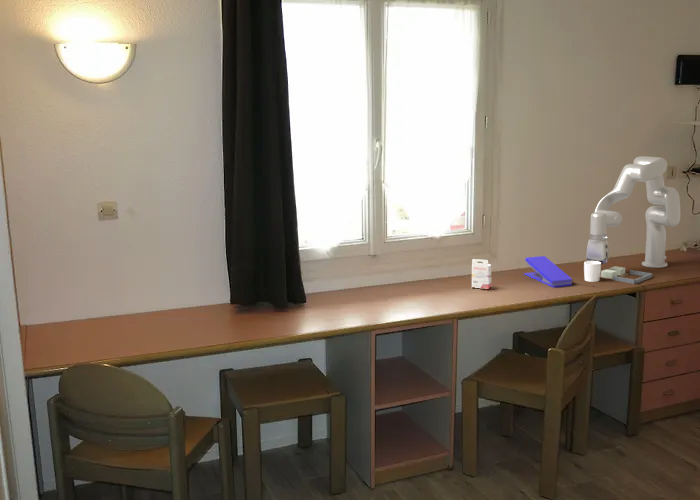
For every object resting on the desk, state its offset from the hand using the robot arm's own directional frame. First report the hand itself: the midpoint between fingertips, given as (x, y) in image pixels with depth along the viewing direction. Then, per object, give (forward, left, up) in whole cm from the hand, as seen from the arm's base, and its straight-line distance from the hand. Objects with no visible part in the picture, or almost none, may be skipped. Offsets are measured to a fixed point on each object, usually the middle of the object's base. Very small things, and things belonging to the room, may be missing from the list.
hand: (596, 273), depth 363 cm
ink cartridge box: (+55, -29, -2) cm, 62 cm away
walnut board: (-4, +5, -2) cm, 6 cm away
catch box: (-4, +17, -2) cm, 18 cm away
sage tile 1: (0, +7, -1) cm, 7 cm away
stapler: (+21, -15, -3) cm, 26 cm away
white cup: (+11, +4, -2) cm, 12 cm away
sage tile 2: (-8, +7, -1) cm, 11 cm away
